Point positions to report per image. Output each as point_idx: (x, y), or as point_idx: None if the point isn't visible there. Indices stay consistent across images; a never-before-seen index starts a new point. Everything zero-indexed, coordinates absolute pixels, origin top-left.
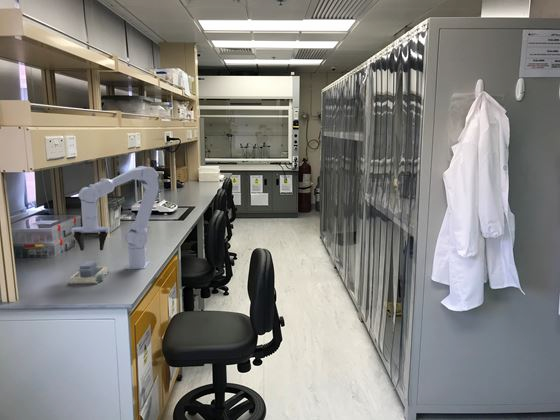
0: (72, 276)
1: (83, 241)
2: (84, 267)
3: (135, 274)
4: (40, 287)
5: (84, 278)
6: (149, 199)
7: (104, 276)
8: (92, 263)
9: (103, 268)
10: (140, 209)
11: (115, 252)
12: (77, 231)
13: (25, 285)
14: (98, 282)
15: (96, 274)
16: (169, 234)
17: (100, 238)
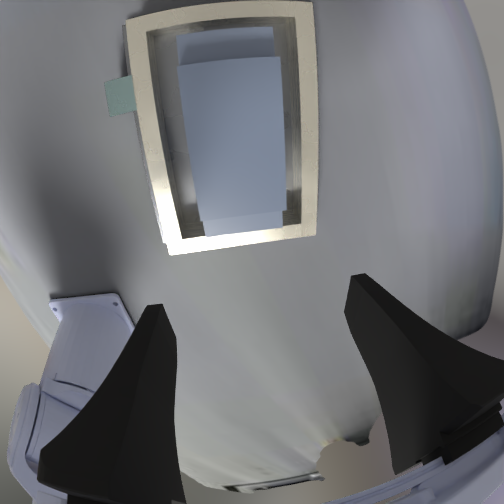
0: (306, 29)
1: (374, 378)
2: (234, 60)
3: (31, 229)
4: (423, 10)
5: (203, 5)
6: None
7: (144, 157)
8: (199, 151)
9: (168, 216)
10: None
11: (272, 411)
12: (475, 450)
13: (478, 60)
14: (126, 47)
15: (145, 80)
16: (204, 467)
17: (101, 426)
